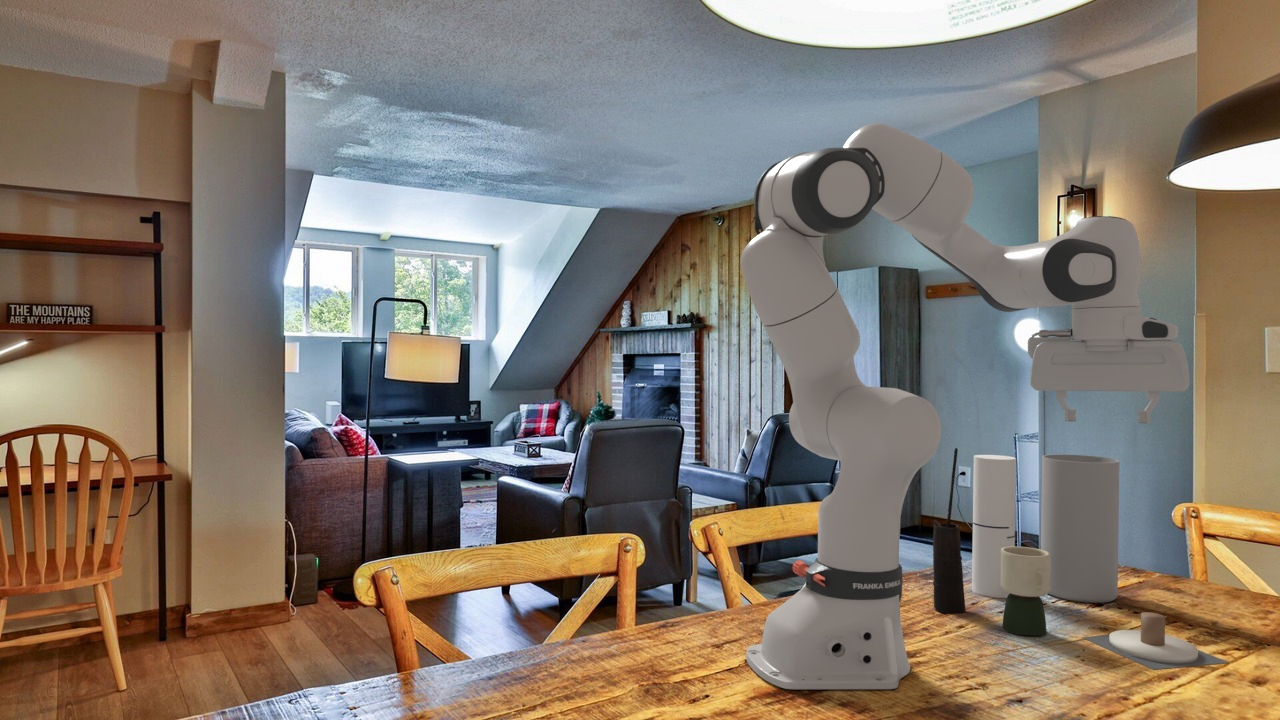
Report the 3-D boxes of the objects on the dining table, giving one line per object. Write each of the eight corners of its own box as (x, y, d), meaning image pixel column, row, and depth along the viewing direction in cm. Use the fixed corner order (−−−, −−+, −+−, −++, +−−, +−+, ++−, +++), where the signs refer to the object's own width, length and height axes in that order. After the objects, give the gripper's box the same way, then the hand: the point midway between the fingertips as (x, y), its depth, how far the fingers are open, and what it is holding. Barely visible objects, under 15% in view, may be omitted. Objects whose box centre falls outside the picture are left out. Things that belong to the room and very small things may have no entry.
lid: (1153, 666, 112) (1153, 630, 112) (1091, 638, 122) (1092, 606, 122) (1217, 660, 114) (1217, 625, 114) (1151, 634, 125) (1152, 602, 125)
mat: (1153, 673, 111) (1153, 669, 111) (1081, 641, 123) (1081, 637, 123) (1229, 666, 113) (1229, 662, 113) (1151, 635, 126) (1151, 631, 126)
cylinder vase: (1132, 604, 142) (1134, 463, 142) (1061, 603, 142) (1063, 462, 142) (1093, 584, 155) (1095, 454, 154) (1028, 583, 155) (1029, 454, 155)
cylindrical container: (964, 586, 152) (966, 454, 152) (1000, 586, 153) (1002, 454, 153) (984, 598, 145) (986, 459, 145) (1022, 597, 146) (1024, 459, 146)
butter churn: (903, 602, 142) (905, 443, 142) (951, 598, 144) (953, 442, 144) (934, 618, 133) (936, 449, 133) (984, 615, 135) (986, 448, 135)
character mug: (1068, 645, 121) (1069, 559, 121) (1026, 647, 120) (1027, 560, 120) (1022, 621, 132) (1023, 542, 132) (982, 623, 131) (984, 543, 131)
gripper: (1026, 329, 121) (1027, 421, 121) (1190, 326, 111) (1191, 426, 111) (1028, 330, 126) (1029, 418, 126) (1185, 326, 116) (1186, 422, 117)
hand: (1106, 422), depth 119 cm, fingers open, 8 cm apart
